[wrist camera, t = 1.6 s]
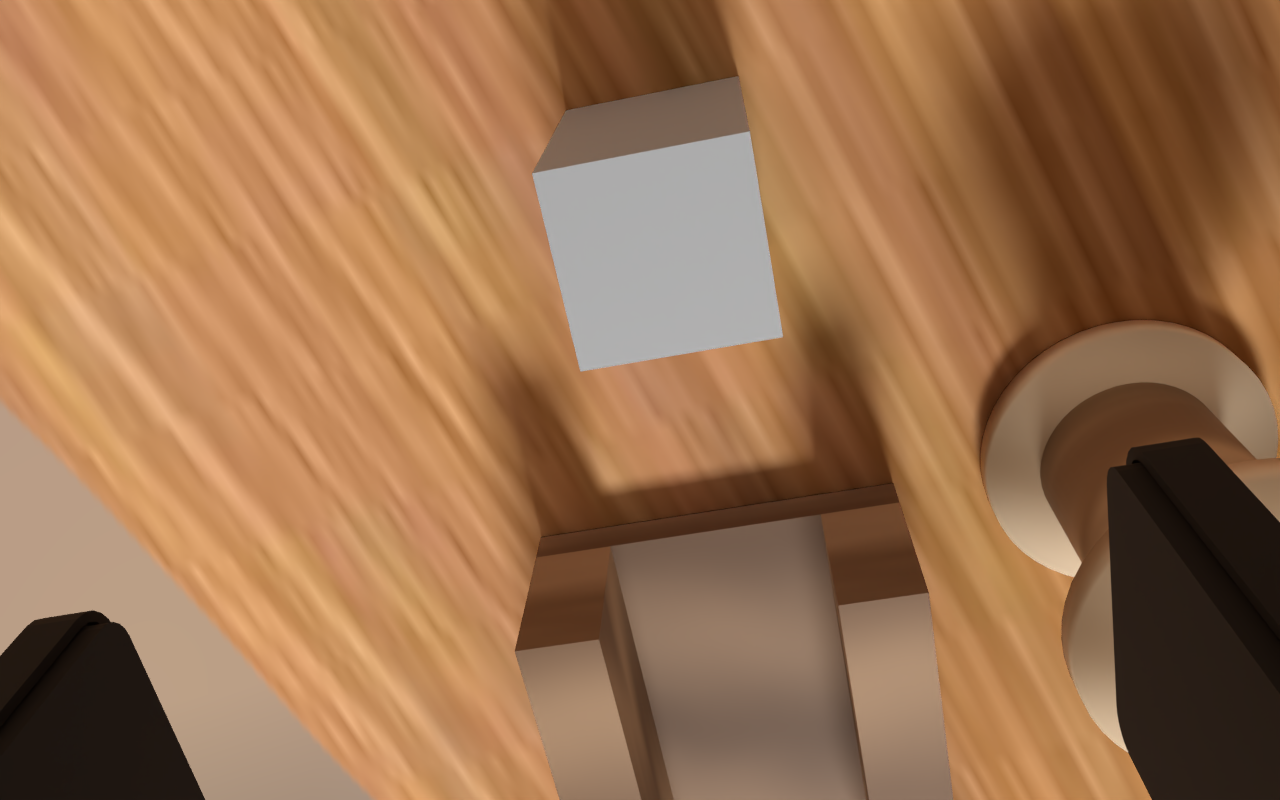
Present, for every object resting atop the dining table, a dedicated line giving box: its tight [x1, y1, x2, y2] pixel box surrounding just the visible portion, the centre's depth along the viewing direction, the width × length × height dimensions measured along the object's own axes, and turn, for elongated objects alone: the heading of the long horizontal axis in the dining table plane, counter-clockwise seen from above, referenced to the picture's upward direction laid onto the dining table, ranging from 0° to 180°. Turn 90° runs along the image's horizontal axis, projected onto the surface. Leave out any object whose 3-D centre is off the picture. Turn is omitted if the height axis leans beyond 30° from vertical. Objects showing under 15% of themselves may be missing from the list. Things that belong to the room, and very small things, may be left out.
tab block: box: [532, 76, 783, 372], centre depth 24 cm, size 4×4×6 cm
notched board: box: [515, 483, 953, 800], centre depth 31 cm, size 12×10×5 cm
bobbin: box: [980, 320, 1280, 752], centre depth 26 cm, size 7×7×8 cm
